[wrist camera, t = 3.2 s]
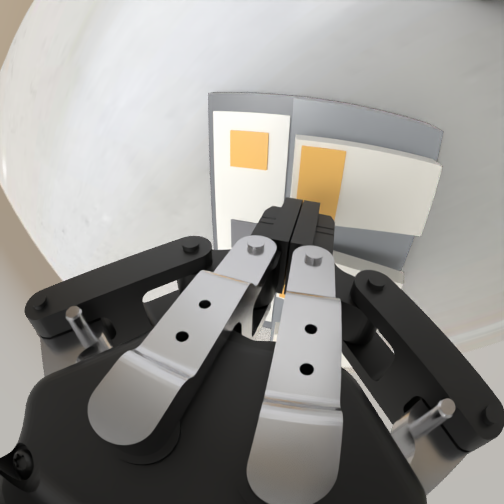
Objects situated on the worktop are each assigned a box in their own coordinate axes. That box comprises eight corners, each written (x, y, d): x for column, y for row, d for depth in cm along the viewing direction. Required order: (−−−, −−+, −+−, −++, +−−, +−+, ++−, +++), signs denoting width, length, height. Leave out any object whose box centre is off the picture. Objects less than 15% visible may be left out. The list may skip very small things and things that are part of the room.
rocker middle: (288, 236, 20) (281, 247, 19) (404, 272, 17) (403, 286, 16) (282, 286, 23) (275, 297, 22) (382, 318, 20) (379, 332, 19)
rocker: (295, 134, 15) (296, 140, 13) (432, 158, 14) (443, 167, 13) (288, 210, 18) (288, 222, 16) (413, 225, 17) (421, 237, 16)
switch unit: (213, 92, 19) (193, 95, 17) (428, 123, 16) (443, 131, 13) (222, 310, 34) (211, 330, 31) (356, 339, 30) (354, 362, 28)
